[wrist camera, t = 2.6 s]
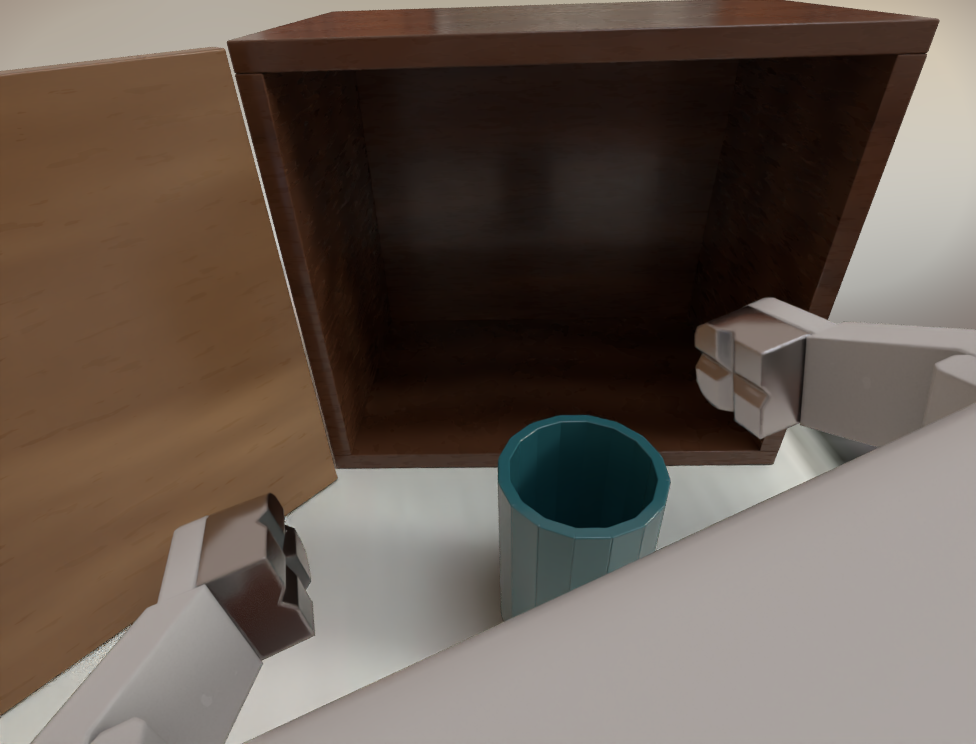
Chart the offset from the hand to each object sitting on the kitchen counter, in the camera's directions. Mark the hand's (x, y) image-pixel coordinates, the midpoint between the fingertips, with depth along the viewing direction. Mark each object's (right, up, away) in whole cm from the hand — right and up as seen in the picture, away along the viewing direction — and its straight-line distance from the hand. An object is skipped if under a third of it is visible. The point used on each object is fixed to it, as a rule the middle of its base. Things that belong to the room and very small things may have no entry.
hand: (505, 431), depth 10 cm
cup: (+4, -11, +18) cm, 22 cm away
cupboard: (+4, 0, +34) cm, 34 cm away
